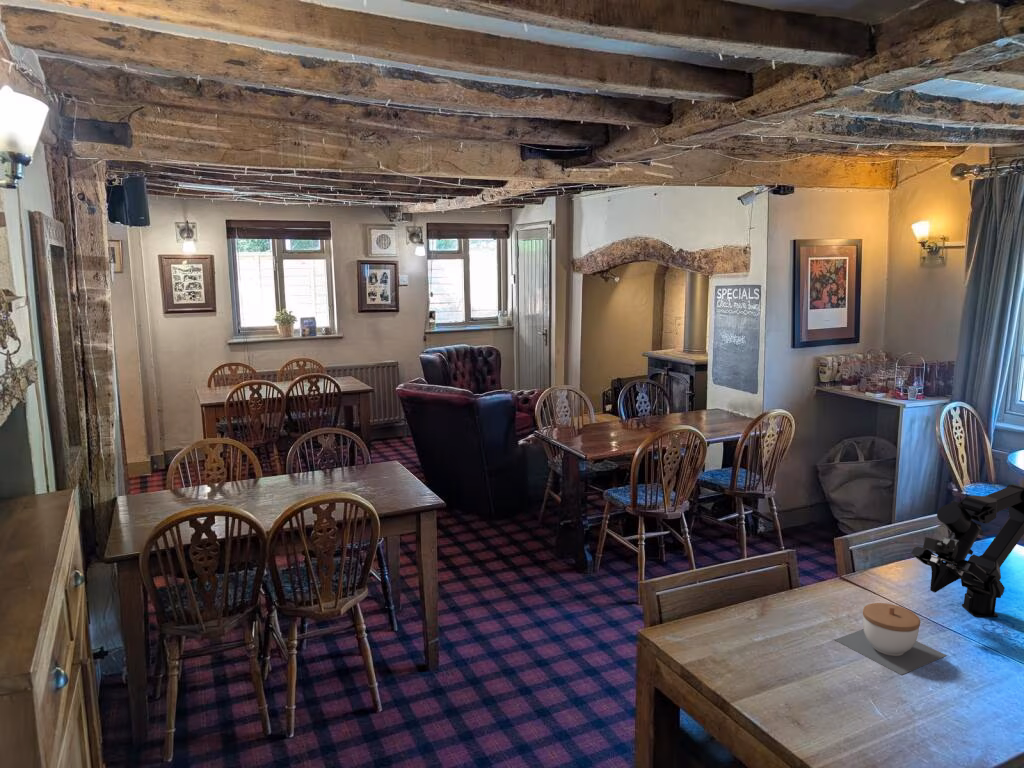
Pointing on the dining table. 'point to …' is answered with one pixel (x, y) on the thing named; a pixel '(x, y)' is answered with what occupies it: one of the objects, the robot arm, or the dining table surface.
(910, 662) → the placemat
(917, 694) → the dining table surface
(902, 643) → the lidded bowl
